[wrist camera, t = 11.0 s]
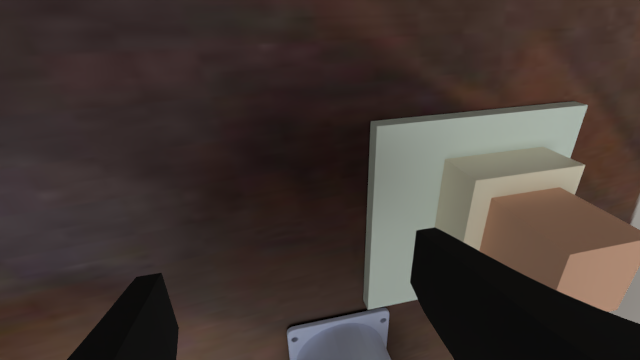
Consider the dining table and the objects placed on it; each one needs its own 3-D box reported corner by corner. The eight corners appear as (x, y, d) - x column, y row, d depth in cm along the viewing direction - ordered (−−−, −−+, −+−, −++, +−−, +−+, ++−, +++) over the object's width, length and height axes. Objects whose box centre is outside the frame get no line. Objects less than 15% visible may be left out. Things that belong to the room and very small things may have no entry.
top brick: (539, 249, 22) (617, 309, 17) (476, 261, 21) (541, 328, 16) (559, 187, 20) (653, 237, 15) (491, 197, 19) (569, 254, 14)
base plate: (521, 267, 28) (562, 303, 25) (363, 299, 26) (383, 344, 22) (573, 101, 22) (637, 118, 19) (370, 121, 19) (400, 145, 16)
